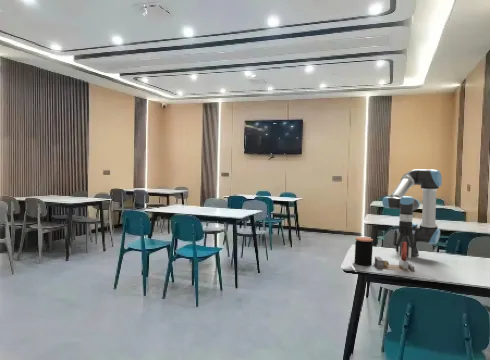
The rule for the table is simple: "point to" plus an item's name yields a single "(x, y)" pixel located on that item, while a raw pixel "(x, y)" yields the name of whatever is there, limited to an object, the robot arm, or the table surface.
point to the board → (391, 266)
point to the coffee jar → (363, 251)
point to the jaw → (403, 256)
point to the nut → (385, 263)
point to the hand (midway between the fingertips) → (403, 257)
